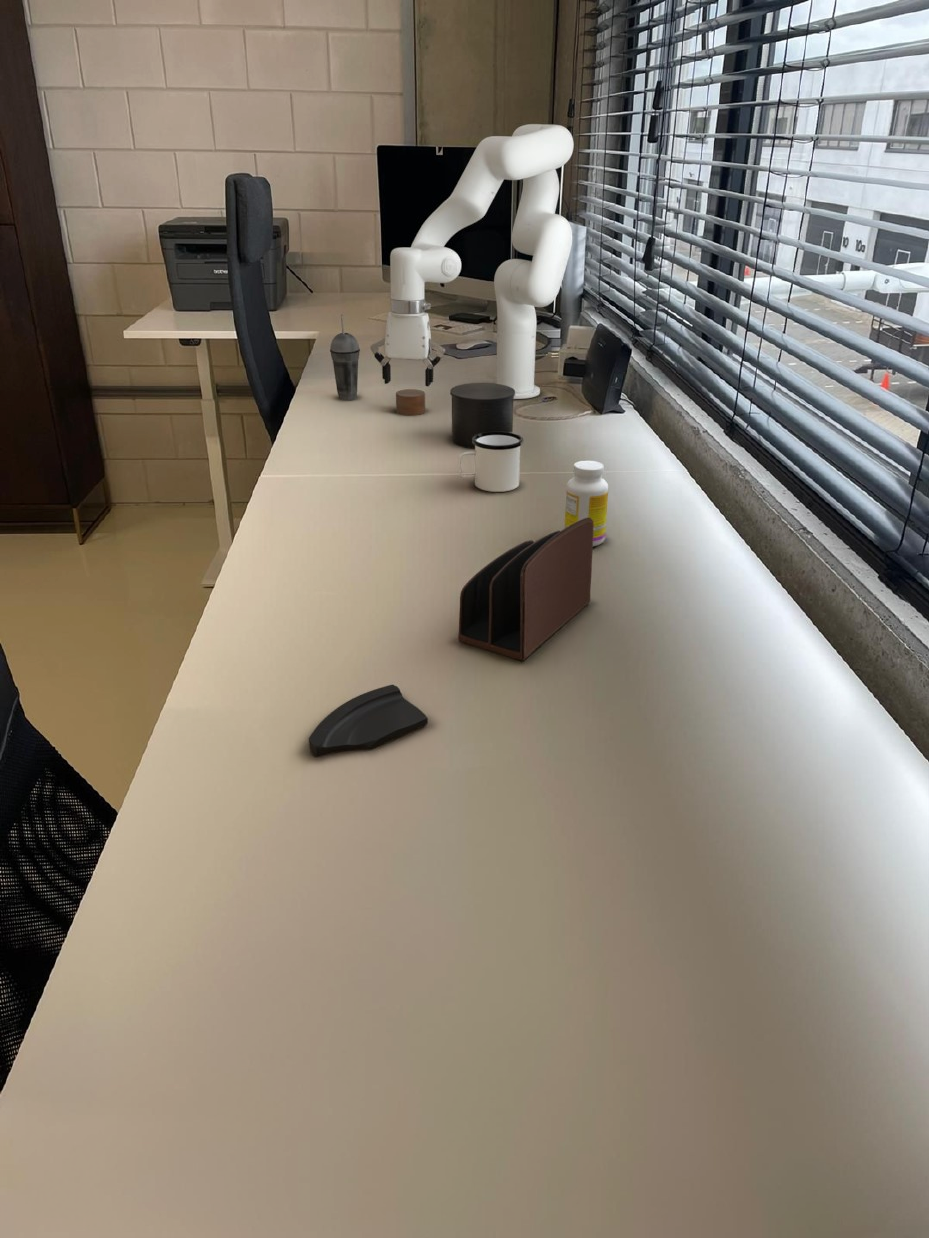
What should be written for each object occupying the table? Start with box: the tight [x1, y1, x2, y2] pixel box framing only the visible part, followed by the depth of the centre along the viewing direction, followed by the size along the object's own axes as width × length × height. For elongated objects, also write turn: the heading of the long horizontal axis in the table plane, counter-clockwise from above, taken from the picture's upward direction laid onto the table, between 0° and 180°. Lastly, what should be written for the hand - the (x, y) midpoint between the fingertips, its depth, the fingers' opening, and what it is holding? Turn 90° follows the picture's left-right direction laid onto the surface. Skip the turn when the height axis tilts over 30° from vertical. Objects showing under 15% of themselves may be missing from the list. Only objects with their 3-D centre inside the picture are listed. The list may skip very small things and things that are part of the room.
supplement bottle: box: [564, 460, 609, 547], centre depth 152 cm, size 7×7×13 cm
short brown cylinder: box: [395, 388, 426, 416], centre depth 221 cm, size 7×7×4 cm
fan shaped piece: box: [308, 684, 429, 758], centre depth 106 cm, size 8×14×2 cm, turn 125°
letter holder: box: [457, 517, 594, 662], centre depth 126 cm, size 10×20×14 cm, turn 148°
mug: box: [458, 431, 524, 493], centre depth 176 cm, size 12×9×9 cm
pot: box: [449, 382, 515, 450], centre depth 200 cm, size 14×14×11 cm
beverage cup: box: [329, 314, 361, 401], centre depth 228 cm, size 7×7×20 cm
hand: (407, 384), depth 219 cm, fingers open, 9 cm apart
